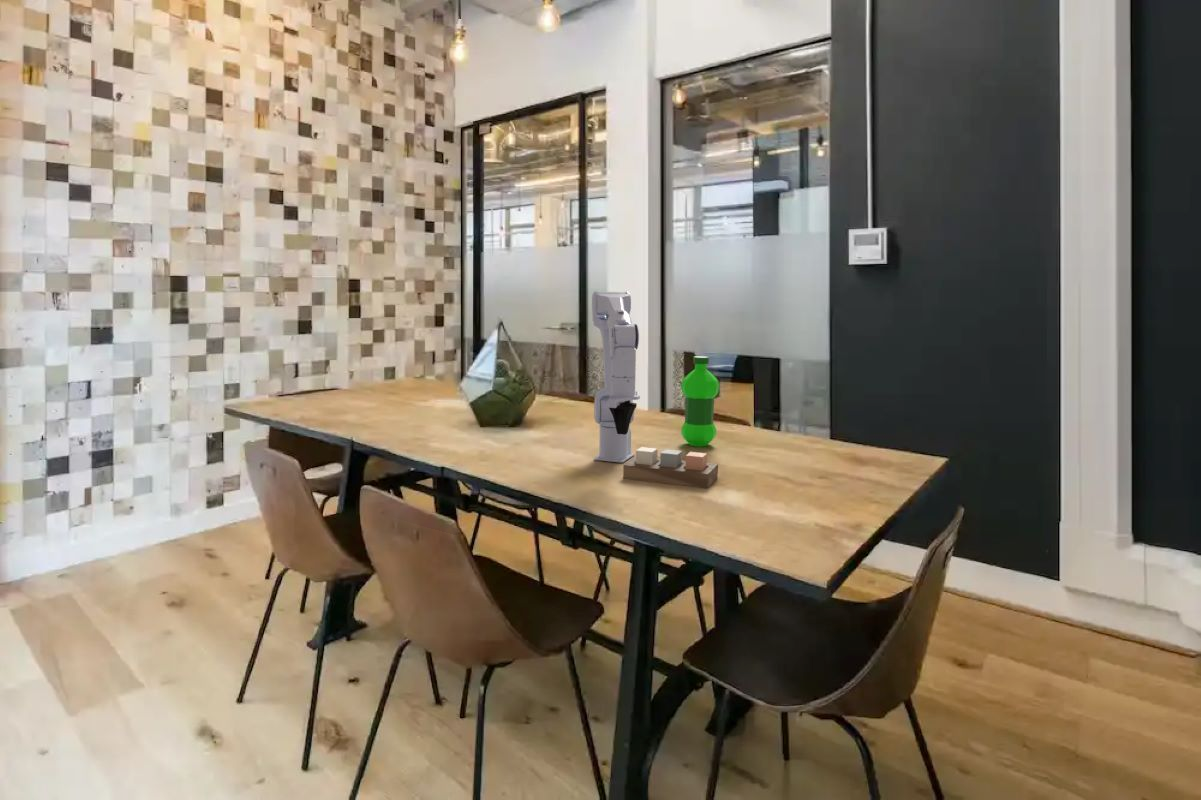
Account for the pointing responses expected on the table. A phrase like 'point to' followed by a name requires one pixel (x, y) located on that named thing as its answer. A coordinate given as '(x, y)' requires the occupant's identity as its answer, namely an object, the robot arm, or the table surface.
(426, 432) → the table surface
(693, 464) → the key terracotta
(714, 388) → the plastic bottle
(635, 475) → the frame
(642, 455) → the key ivory
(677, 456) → the key slate
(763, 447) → the table surface
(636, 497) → the table surface
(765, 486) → the table surface
